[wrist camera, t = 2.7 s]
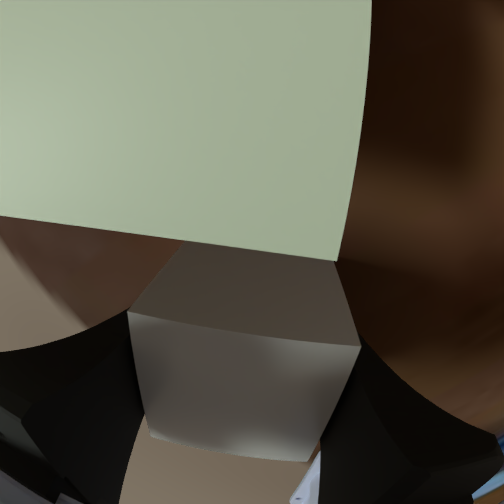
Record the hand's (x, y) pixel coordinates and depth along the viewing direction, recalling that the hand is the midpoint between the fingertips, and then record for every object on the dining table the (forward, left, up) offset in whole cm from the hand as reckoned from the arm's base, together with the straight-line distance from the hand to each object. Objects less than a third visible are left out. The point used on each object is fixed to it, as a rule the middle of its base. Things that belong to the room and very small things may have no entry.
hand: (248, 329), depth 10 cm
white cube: (0, 0, +1) cm, 1 cm away
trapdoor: (+11, +4, +4) cm, 13 cm away
